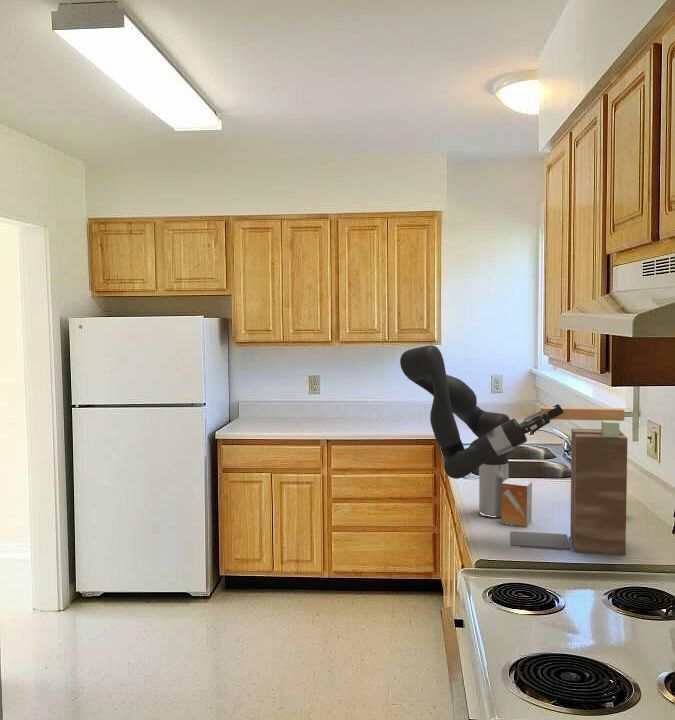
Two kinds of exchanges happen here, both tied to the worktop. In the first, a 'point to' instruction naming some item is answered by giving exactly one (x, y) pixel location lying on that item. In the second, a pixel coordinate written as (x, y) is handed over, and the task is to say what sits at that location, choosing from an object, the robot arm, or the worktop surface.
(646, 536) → the worktop surface
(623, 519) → the stand
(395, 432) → the worktop surface
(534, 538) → the mat
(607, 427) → the sage block
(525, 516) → the small box
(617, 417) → the brown block
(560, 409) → the robot arm
